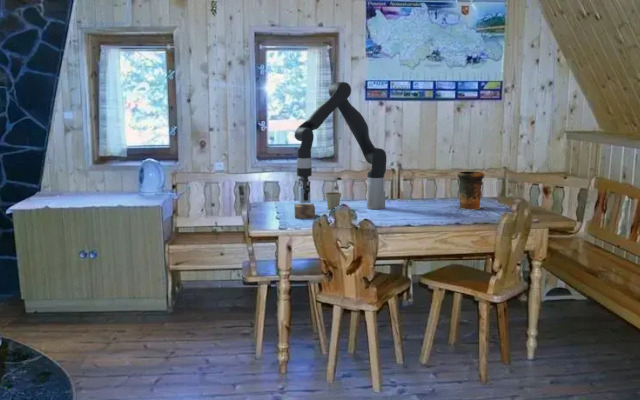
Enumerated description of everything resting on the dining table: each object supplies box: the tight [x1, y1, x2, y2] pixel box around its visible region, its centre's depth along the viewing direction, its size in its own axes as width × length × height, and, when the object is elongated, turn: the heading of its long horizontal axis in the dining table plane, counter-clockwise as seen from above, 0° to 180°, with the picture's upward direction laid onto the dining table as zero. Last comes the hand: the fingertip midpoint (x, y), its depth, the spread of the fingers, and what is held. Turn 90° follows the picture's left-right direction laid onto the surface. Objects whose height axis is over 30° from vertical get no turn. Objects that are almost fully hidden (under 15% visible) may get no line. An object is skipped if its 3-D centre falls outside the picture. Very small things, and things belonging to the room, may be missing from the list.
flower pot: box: [324, 191, 343, 210], centre depth 352 cm, size 9×9×9 cm
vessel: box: [457, 170, 485, 211], centre depth 353 cm, size 14×14×20 cm
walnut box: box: [294, 203, 316, 219], centre depth 330 cm, size 10×10×6 cm
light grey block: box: [297, 185, 312, 204], centre depth 329 cm, size 5×5×8 cm
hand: (304, 199), depth 329 cm, fingers closed on light grey block, 5 cm apart
